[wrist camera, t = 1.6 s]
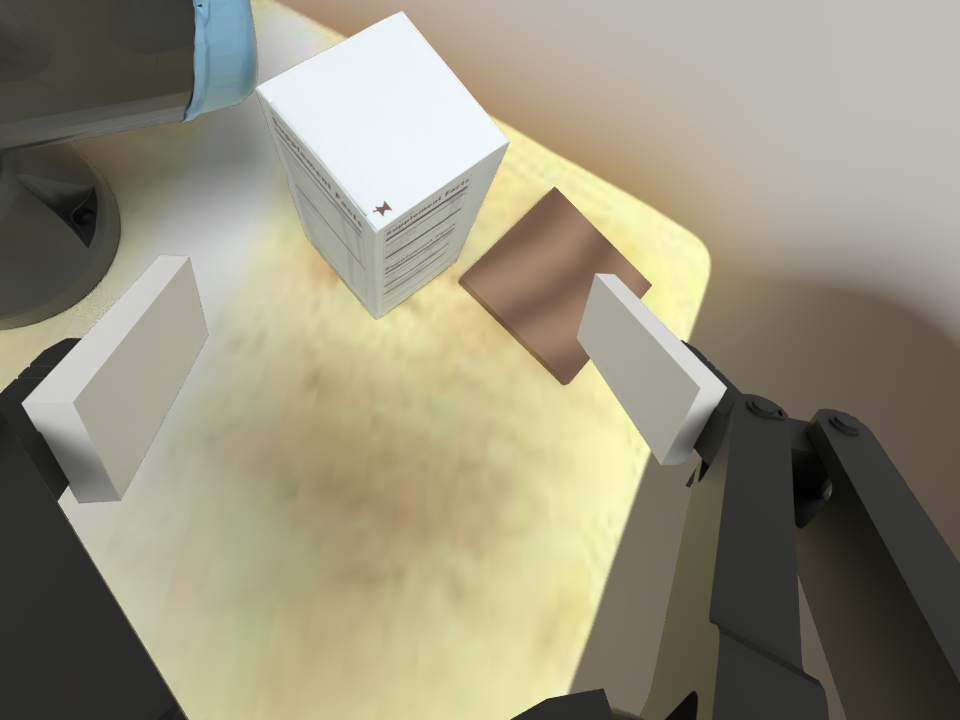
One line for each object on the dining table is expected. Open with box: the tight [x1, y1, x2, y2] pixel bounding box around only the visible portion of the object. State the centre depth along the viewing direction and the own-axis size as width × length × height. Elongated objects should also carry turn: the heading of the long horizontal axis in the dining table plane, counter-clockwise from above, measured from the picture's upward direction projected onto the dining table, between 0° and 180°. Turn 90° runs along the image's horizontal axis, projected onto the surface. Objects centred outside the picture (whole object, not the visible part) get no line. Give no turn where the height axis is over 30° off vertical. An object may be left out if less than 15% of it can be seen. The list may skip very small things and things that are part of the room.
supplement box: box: [256, 11, 510, 319], centre depth 31 cm, size 10×9×17 cm
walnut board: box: [458, 187, 652, 385], centre depth 41 cm, size 13×13×1 cm
